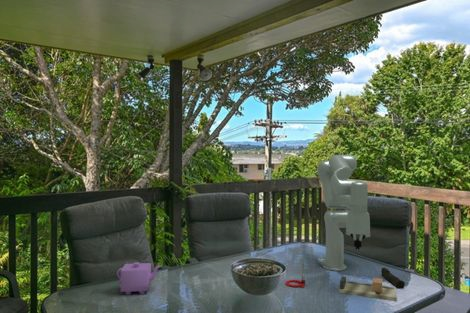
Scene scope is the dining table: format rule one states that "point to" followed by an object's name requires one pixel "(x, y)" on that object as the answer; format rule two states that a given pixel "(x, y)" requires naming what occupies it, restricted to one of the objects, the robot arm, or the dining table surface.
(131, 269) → the teapot
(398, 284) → the hand tool
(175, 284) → the dining table surface
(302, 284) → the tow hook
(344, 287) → the gauge board
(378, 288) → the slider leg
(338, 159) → the robot arm
